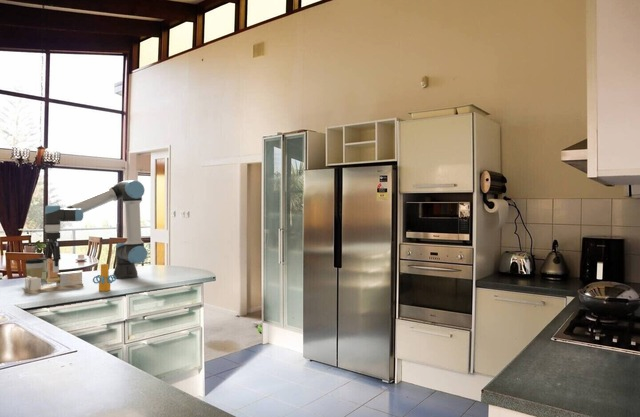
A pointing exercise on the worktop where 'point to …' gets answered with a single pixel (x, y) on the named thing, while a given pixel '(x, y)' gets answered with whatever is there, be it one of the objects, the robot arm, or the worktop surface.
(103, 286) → the orange post with rings
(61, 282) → the pale grey block
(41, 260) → the olive storage canister
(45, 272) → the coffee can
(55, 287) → the birch board
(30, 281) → the end socket
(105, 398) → the worktop surface
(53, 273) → the pink l-shaped block
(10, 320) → the worktop surface
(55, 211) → the robot arm
